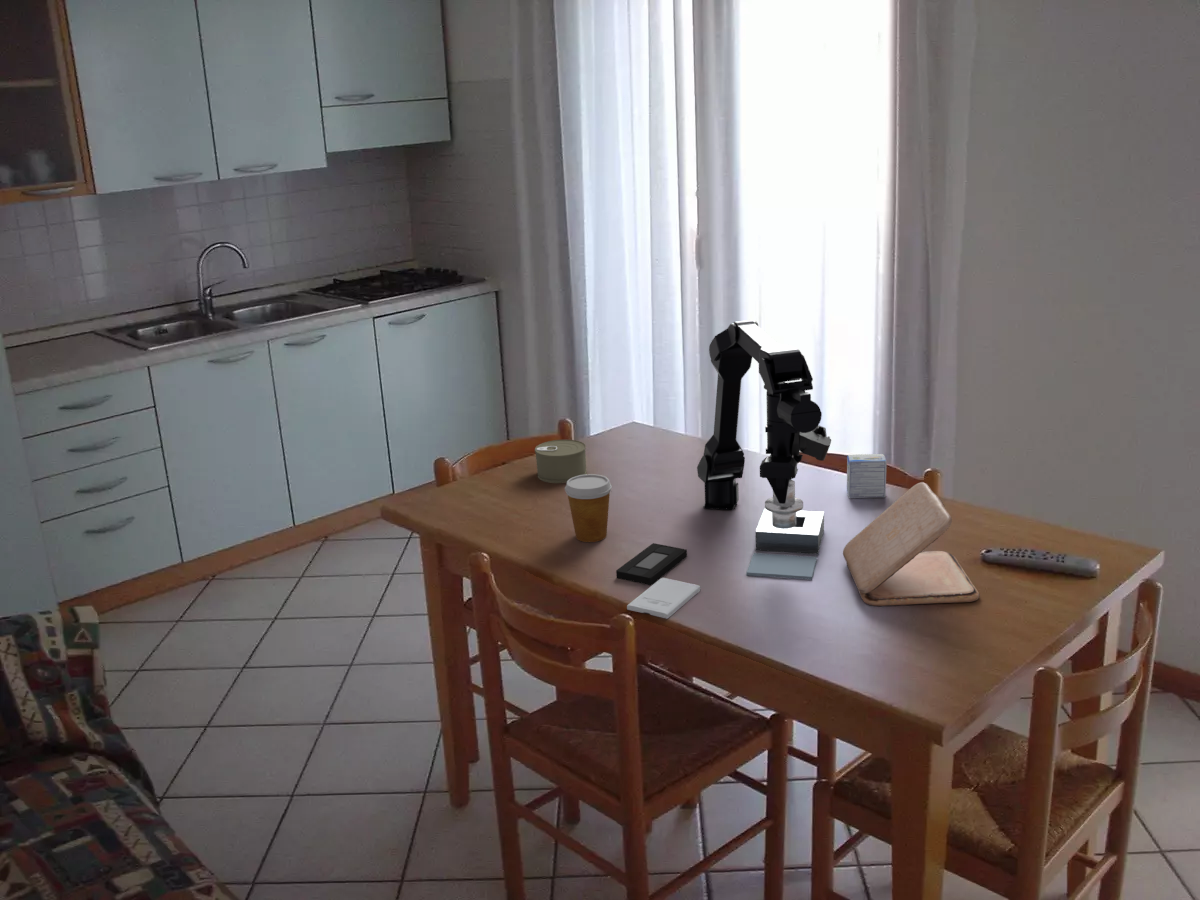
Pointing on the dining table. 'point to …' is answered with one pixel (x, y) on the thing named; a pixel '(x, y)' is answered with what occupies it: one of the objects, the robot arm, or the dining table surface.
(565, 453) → the can
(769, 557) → the mat
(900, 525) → the case
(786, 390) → the robot arm
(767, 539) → the frame
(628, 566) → the vhs tape
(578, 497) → the disposable coffee cup
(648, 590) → the external hard drive
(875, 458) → the medicine box
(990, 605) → the dining table surface
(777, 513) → the silver door knob
